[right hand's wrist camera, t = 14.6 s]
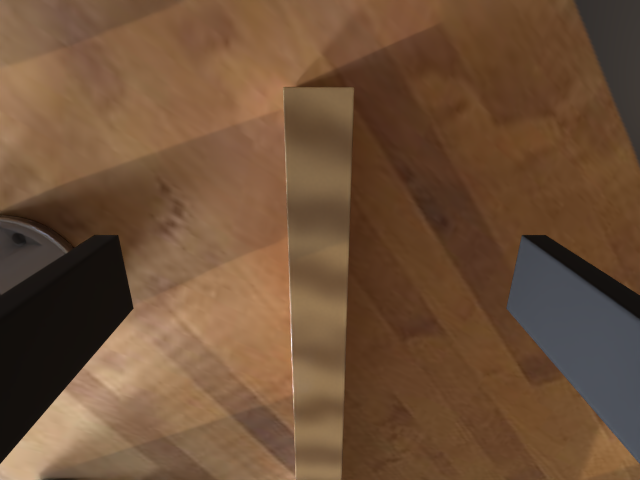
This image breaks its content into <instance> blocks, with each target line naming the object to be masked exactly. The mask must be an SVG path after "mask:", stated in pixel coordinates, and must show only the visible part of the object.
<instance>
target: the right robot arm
mask: <svg viewBox="0 0 640 480" xmlns="http://www.w3.org/2000/svg"><path fill="white" fill-rule="evenodd" d="M132 310H133V304H132V299H131V294H130V289H129V285H128V280H127V275H126V270H125V266H124V261H123V256H122V252H121V247H120V242H119V237H118V235H94V236H92V237H91V238H89V239H88V240H86V241H85V242H83V243H81V244H80V245H78V246H77V247H75V248H73V247H72V246H71V245H70V244H69V243H68V242H67V241H66V240H65V239H64V238H63V237H61V236H60V235H59V234H57V233H56V232H54V231H53V230H51V229H49V228H47V227H46V226H44V225H42V224H39V223H37V222H34V221H32V220H28V219H25V218H21V217H16V216H0V464H1V462H2V461H3V460H4V459H5V458H6V457H7V455H8V454H9V453H10V452H11V451H12V450H13V448H14V447H15V446H16V445H17V444H18V443H19V441H20V440H21V439H22V438H23V437H24V436H25V434H26V433H27V432H28V431H29V430H30V429H31V427H32V426H33V425H34V424H35V423H36V422H37V420H38V419H39V418H40V417H41V416H42V415H43V413H44V412H45V411H46V410H47V409H48V408H49V406H50V405H51V404H52V403H53V402H54V401H55V399H56V398H57V397H58V396H59V395H60V394H61V392H62V391H63V390H64V389H65V388H66V387H67V385H68V384H69V383H70V382H71V381H72V380H73V378H74V377H75V376H76V375H77V374H78V373H79V371H80V370H81V369H82V368H83V367H84V366H85V364H86V363H87V362H88V361H89V360H90V359H91V357H92V356H93V355H94V354H95V353H96V352H97V350H98V349H99V348H100V347H101V346H102V345H103V343H104V342H105V341H106V340H107V339H108V338H109V336H110V335H111V334H112V333H113V332H114V331H115V329H116V328H117V327H118V326H119V325H120V324H121V322H122V321H123V320H124V319H125V318H126V317H127V315H128V314H129V313H130V312H131V311H132ZM507 310H508V311H509V312H510V313H511V314H512V315H513V317H514V318H515V319H516V320H517V321H518V322H519V324H520V325H521V326H522V327H523V328H524V329H525V331H526V332H527V333H528V334H529V335H530V336H531V338H532V339H533V340H534V341H535V342H536V343H537V345H538V346H539V347H540V348H541V349H542V350H543V352H544V353H545V354H546V355H547V356H548V357H549V359H550V360H551V361H552V362H553V363H554V364H555V366H556V367H557V368H558V369H559V370H560V371H561V373H562V374H563V375H564V376H565V377H566V378H567V380H568V381H569V382H570V383H571V384H572V385H573V387H574V388H575V389H576V390H577V391H578V392H579V394H580V395H581V396H582V397H583V398H584V399H585V401H586V402H587V403H588V404H589V405H590V406H591V408H592V409H593V410H594V411H595V412H596V413H597V415H598V416H599V417H600V418H601V419H602V420H603V422H604V423H605V424H606V425H607V426H608V427H609V429H610V430H611V431H612V432H613V433H614V434H615V436H616V437H617V438H618V439H619V440H620V441H621V443H622V444H623V445H624V446H625V447H626V448H627V450H628V451H629V452H630V453H631V454H632V455H633V457H634V458H635V459H636V460H637V461H638V462H639V464H640V295H638V294H637V293H635V292H634V291H632V290H630V289H629V288H627V287H626V286H624V285H623V284H621V283H619V282H618V281H616V280H615V279H613V278H612V277H610V276H609V275H607V274H605V273H604V272H602V271H601V270H599V269H598V268H596V267H594V266H593V265H591V264H590V263H588V262H587V261H585V260H584V259H582V258H580V257H579V256H577V255H576V254H574V253H573V252H571V251H569V250H568V249H566V248H565V247H563V246H562V245H560V244H558V243H557V242H555V241H554V240H552V239H551V238H549V237H548V236H546V235H522V237H521V242H520V247H519V252H518V256H517V261H516V266H515V270H514V275H513V280H512V285H511V289H510V294H509V299H508V304H507Z"/></svg>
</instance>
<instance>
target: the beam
mask: <svg viewBox="0 0 640 480" xmlns="http://www.w3.org/2000/svg"><path fill="white" fill-rule="evenodd" d="M283 102H284V133H285V163H286V194H287V225H288V255H289V286H290V317H291V347H292V378H293V409H294V440H295V470H296V480H342V453H343V422H344V391H345V359H346V328H347V297H348V266H349V235H350V204H351V172H352V141H353V110H354V87H283Z"/></svg>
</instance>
